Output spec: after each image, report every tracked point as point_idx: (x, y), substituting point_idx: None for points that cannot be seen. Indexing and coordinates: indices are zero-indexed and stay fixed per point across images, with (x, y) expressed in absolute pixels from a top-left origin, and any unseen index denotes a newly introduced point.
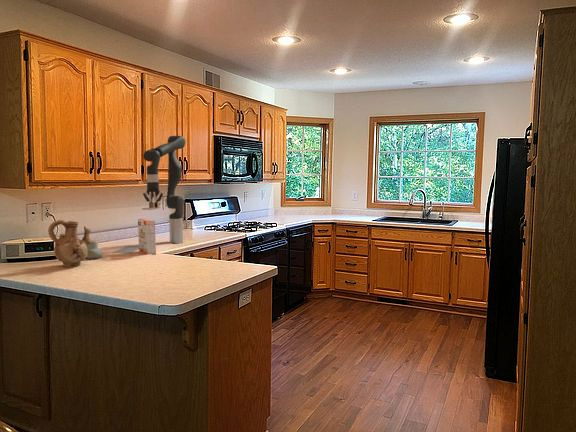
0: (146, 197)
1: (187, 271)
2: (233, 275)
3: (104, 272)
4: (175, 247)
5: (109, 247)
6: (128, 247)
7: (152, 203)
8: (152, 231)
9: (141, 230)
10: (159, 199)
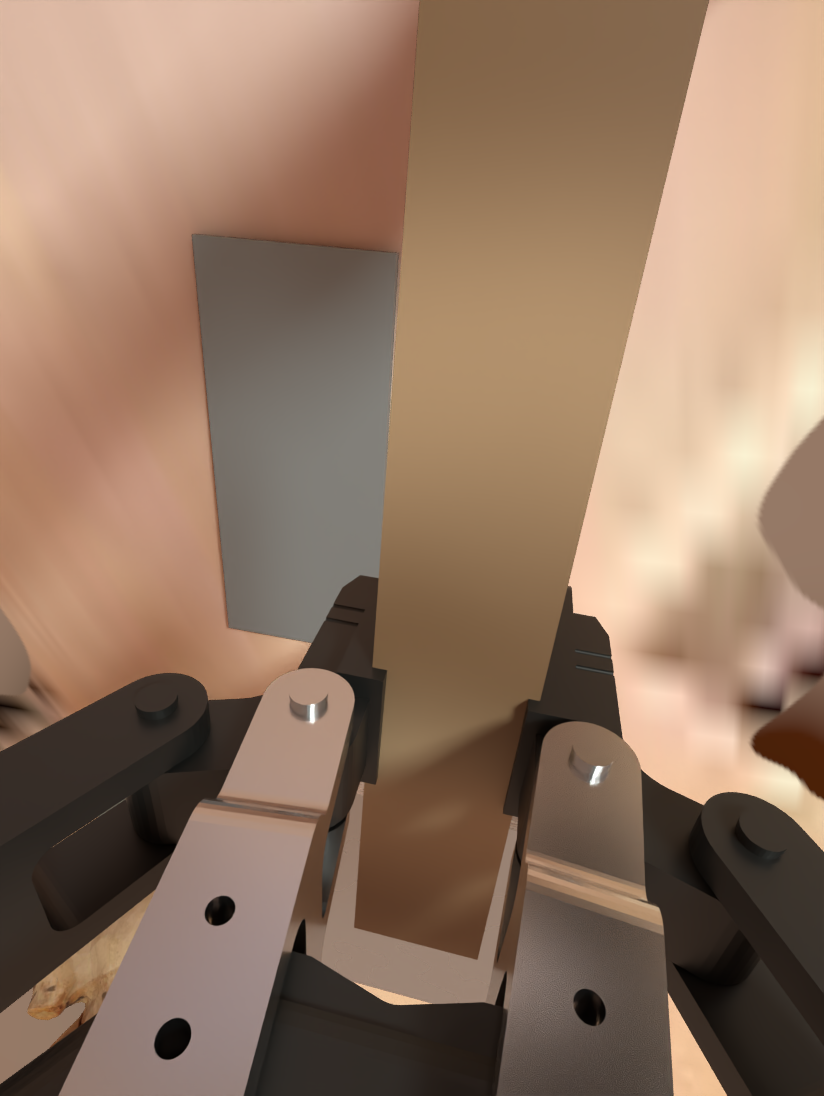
0: (50, 959)
1: None
2: None
3: (409, 1001)
4: (775, 313)
5: (35, 279)
6: (243, 359)
7: (471, 940)
8: None
9: None
10: (767, 1024)
